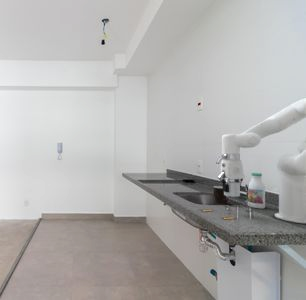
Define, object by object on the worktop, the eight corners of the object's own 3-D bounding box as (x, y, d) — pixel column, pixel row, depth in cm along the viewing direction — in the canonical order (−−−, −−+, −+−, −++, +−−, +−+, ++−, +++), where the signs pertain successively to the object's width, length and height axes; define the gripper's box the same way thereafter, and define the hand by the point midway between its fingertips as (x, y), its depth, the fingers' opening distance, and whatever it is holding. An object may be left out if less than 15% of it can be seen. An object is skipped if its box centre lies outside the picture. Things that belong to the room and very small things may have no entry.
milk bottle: (252, 204, 127) (252, 172, 127) (267, 208, 120) (268, 173, 120) (245, 206, 123) (245, 172, 123) (260, 209, 116) (261, 174, 116)
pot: (231, 193, 112) (230, 180, 113) (243, 196, 106) (243, 182, 106) (220, 194, 111) (220, 181, 111) (232, 197, 104) (232, 183, 104)
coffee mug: (223, 201, 135) (223, 186, 135) (233, 204, 126) (233, 188, 126) (205, 201, 134) (205, 186, 134) (214, 205, 126) (214, 188, 126)
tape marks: (211, 210, 114) (211, 209, 114) (235, 218, 101) (235, 218, 101) (201, 210, 113) (201, 210, 113) (225, 219, 99) (225, 218, 99)
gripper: (223, 158, 103) (224, 193, 103) (251, 157, 107) (252, 191, 107) (211, 157, 110) (212, 191, 110) (237, 157, 114) (238, 189, 114)
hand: (231, 191), depth 108 cm, fingers closed on pot, 6 cm apart
